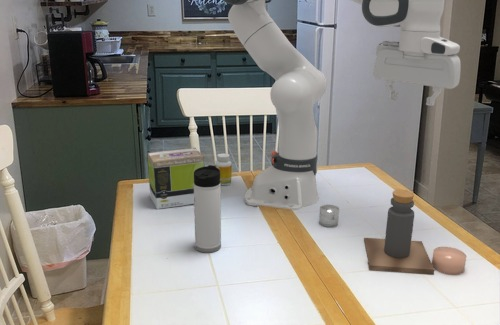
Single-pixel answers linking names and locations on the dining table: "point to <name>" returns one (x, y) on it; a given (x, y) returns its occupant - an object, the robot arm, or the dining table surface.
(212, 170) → the travel mug
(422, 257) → the board
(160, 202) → the tea box
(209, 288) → the dining table surface
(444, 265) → the peach dome knob
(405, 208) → the bottle
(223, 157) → the supplement bottle
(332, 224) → the tin
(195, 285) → the dining table surface
